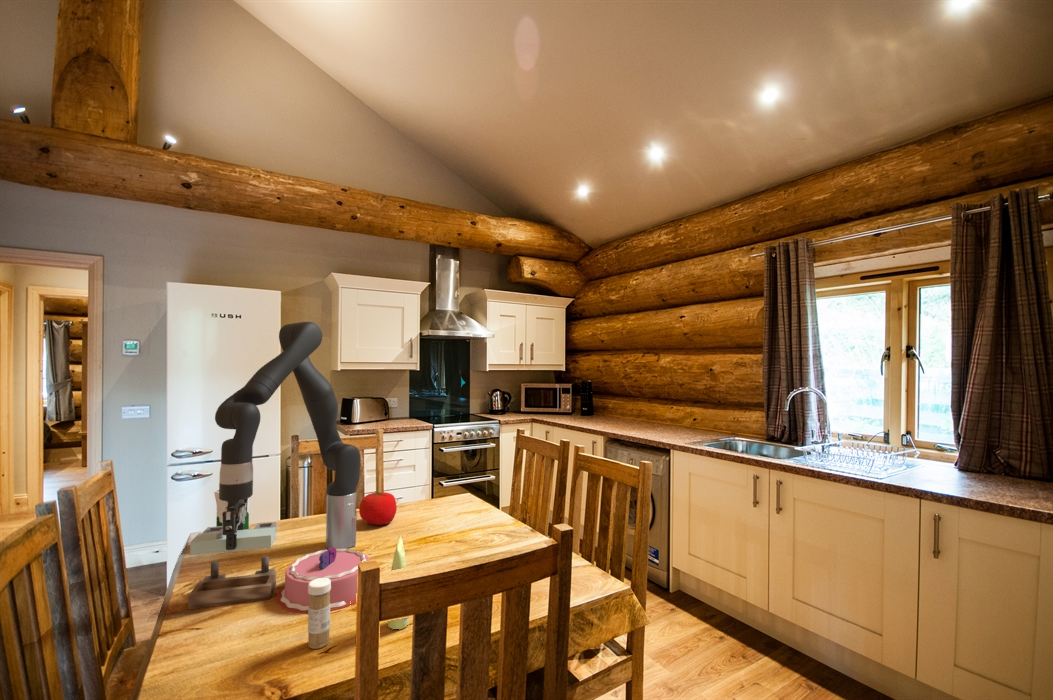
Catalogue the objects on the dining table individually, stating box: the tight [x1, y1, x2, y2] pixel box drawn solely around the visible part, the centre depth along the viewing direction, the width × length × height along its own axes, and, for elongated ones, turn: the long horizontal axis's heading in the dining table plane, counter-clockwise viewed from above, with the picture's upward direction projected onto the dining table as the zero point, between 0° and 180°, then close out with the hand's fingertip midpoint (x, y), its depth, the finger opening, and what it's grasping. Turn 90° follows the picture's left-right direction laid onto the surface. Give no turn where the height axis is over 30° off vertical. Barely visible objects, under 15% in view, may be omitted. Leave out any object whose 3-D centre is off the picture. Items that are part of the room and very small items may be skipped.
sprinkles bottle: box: [307, 578, 331, 650], centre depth 106 cm, size 5×5×14 cm
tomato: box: [358, 491, 397, 526], centre depth 181 cm, size 13×14×12 cm
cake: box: [275, 547, 370, 615], centre depth 130 cm, size 25×25×11 cm
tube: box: [387, 535, 410, 630], centre depth 114 cm, size 6×5×20 cm
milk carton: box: [213, 489, 251, 530], centre depth 160 cm, size 9×9×20 cm
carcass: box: [187, 555, 277, 610], centre depth 127 cm, size 18×10×7 cm, turn 107°
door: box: [189, 521, 277, 556], centre depth 128 cm, size 18×11×4 cm, turn 107°
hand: (234, 544), depth 126 cm, fingers closed on door, 6 cm apart
